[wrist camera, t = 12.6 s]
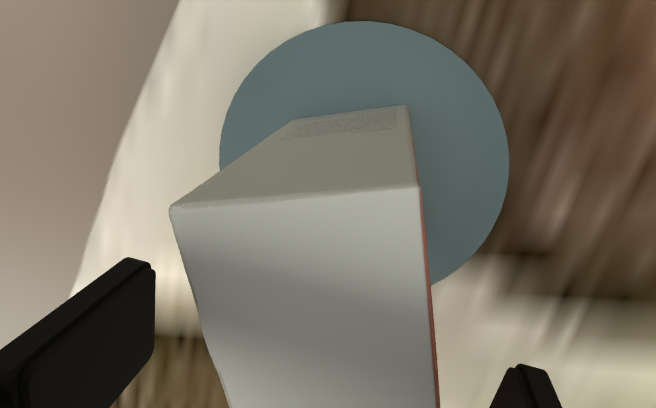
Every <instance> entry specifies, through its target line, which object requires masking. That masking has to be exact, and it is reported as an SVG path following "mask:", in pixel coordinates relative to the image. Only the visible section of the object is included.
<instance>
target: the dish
mask: <svg viewBox="0 0 656 408" xmlns="http://www.w3.org/2000/svg"><path fill="white" fill-rule="evenodd" d="M398 105H407V106H408V109H409V117H410V126H411V132H412V140H413V146H414V151H415V159H416V166H417V172H418V179H419V184H420V187H421V191H422V202H423V211H424V220H425V229H426V240H427V256H428V265H429V274H430V285H433V284H435V283H437V282H438V281H440V280H442V279H444V278H445V277H447V276H448V275H450V274H451V273H453V272H454V271H456V270H457V269H458V268H459V267H461V266H462V265H463V264H464V263H465V262H466V261H467V260H468V259H469V258H471V256H472V255H473V254H474V253H475V252H476V251H477V250H478V248H479V247H480V246H481V245H482V244H483V242H484V241H485V239H486V238H487V236H488V235H489V233H490V231H491V230H492V228H493V226H494V224H495V222H496V220H497V218H498V216H499V214H500V211H501V208H502V205H503V202H504V198H505V195H506V190H507V184H508V178H509V150H508V143H507V136H506V132H505V129H504V125H503V121H502V118H501V115H500V113H499V111H498V109H497V106H496V104H495V102H494V100H493V98H492V96H491V95H490V93H489V91H488V90H487V88H486V87H485V85H484V84H483V82H482V81H481V79H480V78H479V77H478V76H477V75H476V74H475V72H474V71H473V70H472V69H471V68H470V67H469V66H468V65H467V64H466V63H465V62H464V61H463V60H462V59H461V58H459V57H458V56H457V55H456V54H455V53H453V52H452V51H451V50H450V49H448V48H447V47H445V46H443V45H442V44H440V43H439V42H437V41H435V40H434V39H432V38H430V37H428V36H425V35H423V34H421V33H418V32H416V31H414V30H411V29H408V28H404V27H400V26H397V25H393V24H388V23H380V22H372V21H352V22H342V23H336V24H330V25H325V26H322V27H319V28H316V29H312V30H309V31H306V32H304V33H302V34H300V35H298V36H296V37H294V38H292V39H290V40H288V41H286V42H285V43H283V44H282V45H280V46H279V47H277V48H276V49H274V50H273V51H271V52H270V53H269V54H268V55H267V56H266V57H265V58H264V59H263V60H261V61H260V62H259V63H258V64H257V65H256V66H255V67H254V69H253V70H252V71H251V72H250V73H249V75H248V76H247V77H246V78H245V79H244V81H243V83H242V84H241V86H240V87H239V89H238V91H237V92H236V94H235V96H234V98H233V100H232V102H231V105H230V107H229V109H228V112H227V114H226V118H225V122H224V125H223V129H222V134H221V141H220V163H219V165H220V171H221V170H222V169H224V168H225V167H226V166H228V165H229V164H231V163H232V162H233V161H235V160H236V159H238V158H239V157H241V156H242V155H244V154H245V153H246V152H248V151H249V150H251V149H252V148H254V147H255V146H256V145H258V144H259V143H260V142H262V141H263V140H264V139H266V138H267V137H269V136H270V135H271V134H273V133H274V132H276V131H277V130H279V129H280V128H281V127H283V126H284V125H286V124H287V123H289V122H290V121H292V120H294V119H300V118H308V117H315V116H323V115H330V114H338V113H345V112H353V111H360V110H368V109H375V108H383V107H390V106H398Z"/></svg>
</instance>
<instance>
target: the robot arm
mask: <svg viewBox="0 0 656 408" xmlns="http://www.w3.org/2000/svg"><path fill="white" fill-rule="evenodd" d="M155 279H156V274H155V271H154V270H153V269H151V265H150V263H148V262H145V261H141V260H137V259H134V258H130V257H127V258H125V259H123V260H122V261H120V262H119V263H117V264H116V265H115V266H113V267H112V268H111V269H109V270H108V271H107V272H105V273H104V274H103V275H101V276H100V277H98V278H97V279H96V280H94V281H93V282H92V283H90V284H89V285H88V286H86V287H85V288H84V289H82V290H81V291H79V292H78V293H77V294H75V295H74V296H73V297H71V298H70V299H69V300H67V301H66V302H65V303H63V304H62V305H60V306H59V307H58V308H57V309H55V310H54V311H52V312H51V313H50V314H48V315H47V316H46V317H44V318H43V319H42V320H40V321H39V322H37V323H36V324H35V325H33V326H32V327H31V328H29V329H28V330H27V331H25V332H24V333H23V334H21V335H20V336H18V337H17V338H16V339H14V340H13V341H12V342H11V343H9V344H8V345H6V346H5V347H4V348H2V349H1V350H0V408H109V407H110V406H111V405H112V404H113V403H114V401H115V400H116V399H117V398H118V397H119V395H120V394H121V393H122V392H123V391H124V389H125V388H126V387H127V386H128V385H129V383H130V382H131V381H132V380H133V379H134V377H135V376H136V375H137V374H138V373H139V371H140V370H141V369H142V368H143V367H144V365H145V364H146V363H147V362H148V360H149V359H150V357H151V355H152V353H153V350H154V328H155ZM489 408H562V406H561V404H560V401H559V399H558V397H557V395H556V392H555V390H554V388H553V385H552V383H551V381H550V378H549V376H548V374H547V373H546V371H544V370H542V369H539V368H535V367H531V366H528V365H524V364H518V365H517V366H516V367H515V368H512V367H510V368H509V369H508V370H507V371H506V374H505V376H504V378H503V380H502V382H501V384H500V386H499V388H498V390H497V393H496V395H495V397H494V399H493V401H492V403H491V405H490V407H489Z"/></svg>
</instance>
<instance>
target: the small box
mask: <svg viewBox="0 0 656 408" xmlns="http://www.w3.org/2000/svg"><path fill="white" fill-rule="evenodd" d="M169 217H170V220H171V223H172V227H173V230H174V234H175V238H176V241H177V244H178V247H179V250H180V254H181V257H182V261H183V264H184V268H185V271H186V274H187V277H188V280H189V283H190V286H191V289H192V293H193V297H194V300H195V304H196V307H197V311H198V315H199V319H200V323H201V328H202V332H203V335H204V338H205V342H206V345H207V348H208V351H209V353H210V355H211V358H212V360H213V363H214V365H215V367H216V370H217V372H218V374H219V377H220V380H221V383H222V386H223V389H224V392H225V395H226V398H227V401H228V404H229V407H230V408H440V397H439V382H438V368H437V354H436V342H435V330H434V319H433V307H432V296H431V285H430V274H429V265H428V256H427V240H426V229H425V220H424V211H423V202H422V191H421V187H420V184H419V179H418V172H417V166H416V159H415V151H414V146H413V140H412V132H411V126H410V117H409V109H408V106H407V105H398V106H390V107H383V108H375V109H368V110H360V111H353V112H345V113H338V114H330V115H323V116H315V117H308V118H300V119H294V120H292V121H290V122H289V123H287V124H286V125H284V126H283V127H281V128H280V129H279V130H277V131H276V132H274V133H273V134H271V135H270V136H269V137H267V138H266V139H264V140H263V141H262V142H260V143H259V144H258V145H256V146H255V147H254V148H252V149H251V150H249V151H248V152H246V153H245V154H244V155H242V156H241V157H239V158H238V159H236V160H235V161H233V162H232V163H231V164H229V165H228V166H226V167H225V168H224V169H222V170H221V171H220V172H218V173H217V174H215V175H214V176H213V177H211V178H210V179H208V180H207V181H206V182H204V183H203V184H201V185H200V186H198V187H197V188H195V189H194V190H193V191H191V192H190V193H188V194H187V195H185V196H184V197H182V198H181V199H179V200H177V201H176V202H174V203H173V204H171V205H170V208H169Z"/></svg>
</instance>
